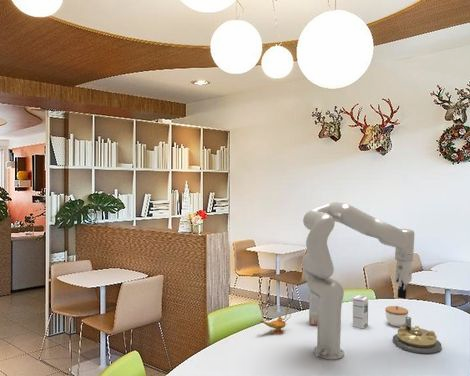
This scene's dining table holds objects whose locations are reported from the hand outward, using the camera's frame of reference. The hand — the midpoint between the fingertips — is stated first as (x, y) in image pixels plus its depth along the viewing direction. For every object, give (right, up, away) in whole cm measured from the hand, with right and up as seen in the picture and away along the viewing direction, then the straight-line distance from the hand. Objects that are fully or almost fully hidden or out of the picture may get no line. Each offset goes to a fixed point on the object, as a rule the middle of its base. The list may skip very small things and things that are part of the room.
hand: (401, 297), depth 196 cm
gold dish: (+6, -19, -1) cm, 20 cm away
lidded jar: (+6, -20, +24) cm, 32 cm away
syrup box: (-13, -20, +21) cm, 32 cm away
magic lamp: (-55, -20, +12) cm, 60 cm away
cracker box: (-30, -19, +24) cm, 43 cm away
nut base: (+6, -21, 0) cm, 22 cm away
